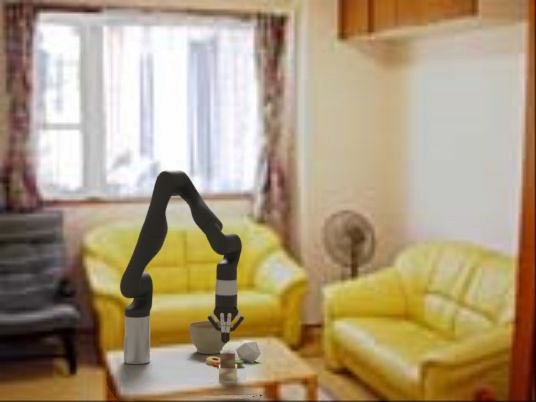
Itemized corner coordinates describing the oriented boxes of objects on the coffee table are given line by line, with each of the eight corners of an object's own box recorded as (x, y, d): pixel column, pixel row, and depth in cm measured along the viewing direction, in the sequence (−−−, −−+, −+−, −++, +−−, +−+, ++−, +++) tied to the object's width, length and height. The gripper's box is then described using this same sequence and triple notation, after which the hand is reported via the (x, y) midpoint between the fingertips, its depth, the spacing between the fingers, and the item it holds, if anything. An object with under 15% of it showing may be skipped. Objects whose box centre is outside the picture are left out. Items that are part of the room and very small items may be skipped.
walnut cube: (220, 368, 286) (220, 353, 286) (220, 364, 291) (220, 350, 291) (235, 368, 286) (235, 353, 286) (235, 364, 291) (235, 350, 291)
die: (264, 362, 318) (255, 339, 322) (262, 355, 310) (252, 332, 315) (243, 370, 317) (234, 347, 322) (241, 364, 310) (232, 340, 314)
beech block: (218, 380, 286) (218, 368, 286) (219, 375, 292) (219, 364, 292) (236, 380, 286) (236, 368, 286) (236, 375, 292) (236, 364, 292)
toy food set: (203, 365, 312) (203, 356, 312) (237, 362, 317) (237, 353, 316) (214, 373, 299) (214, 364, 299) (249, 370, 304) (249, 361, 304)
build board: (209, 385, 283) (209, 382, 283) (210, 376, 295) (210, 373, 295) (245, 385, 283) (245, 382, 283) (245, 376, 295) (245, 373, 295)
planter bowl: (238, 351, 332) (238, 324, 331) (208, 358, 320) (208, 330, 320) (210, 345, 343) (210, 318, 343) (180, 351, 331) (180, 324, 331)
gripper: (206, 294, 285) (205, 345, 286) (245, 294, 285) (244, 345, 286) (207, 290, 292) (206, 340, 293) (245, 290, 292) (244, 340, 294)
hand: (225, 342), depth 290 cm, fingers closed
